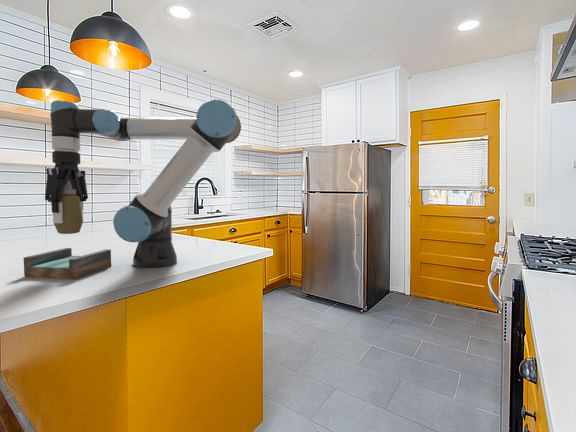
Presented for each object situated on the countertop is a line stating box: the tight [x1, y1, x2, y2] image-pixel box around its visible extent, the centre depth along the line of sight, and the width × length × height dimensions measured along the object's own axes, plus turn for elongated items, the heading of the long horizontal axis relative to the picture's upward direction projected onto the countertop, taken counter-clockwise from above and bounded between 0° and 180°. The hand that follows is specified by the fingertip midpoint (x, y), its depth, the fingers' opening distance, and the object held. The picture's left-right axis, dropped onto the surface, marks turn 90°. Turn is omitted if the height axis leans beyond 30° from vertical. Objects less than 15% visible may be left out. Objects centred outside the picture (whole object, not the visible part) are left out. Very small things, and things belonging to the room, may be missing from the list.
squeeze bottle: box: [53, 180, 84, 235], centre depth 107 cm, size 8×8×18 cm
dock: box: [23, 247, 112, 280], centre depth 108 cm, size 17×17×6 cm
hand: (68, 221), depth 107 cm, fingers closed on squeeze bottle, 8 cm apart
